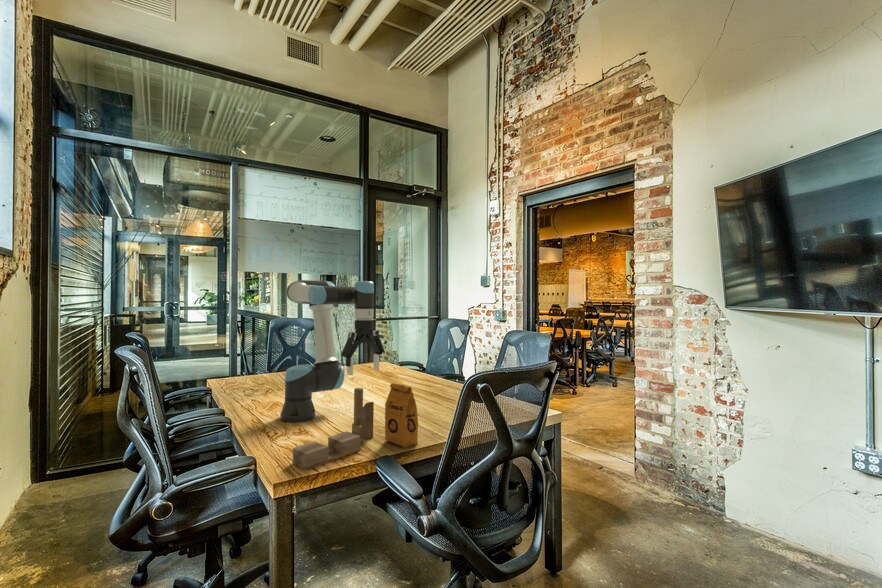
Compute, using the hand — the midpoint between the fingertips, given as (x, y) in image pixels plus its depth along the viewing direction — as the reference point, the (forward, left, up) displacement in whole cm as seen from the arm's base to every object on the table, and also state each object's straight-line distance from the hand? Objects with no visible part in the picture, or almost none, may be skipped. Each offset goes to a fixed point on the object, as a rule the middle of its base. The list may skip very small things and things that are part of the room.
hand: (363, 372), depth 161 cm
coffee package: (+18, +4, -25) cm, 31 cm away
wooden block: (0, 0, -25) cm, 25 cm away
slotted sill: (+8, -22, -25) cm, 34 cm away
